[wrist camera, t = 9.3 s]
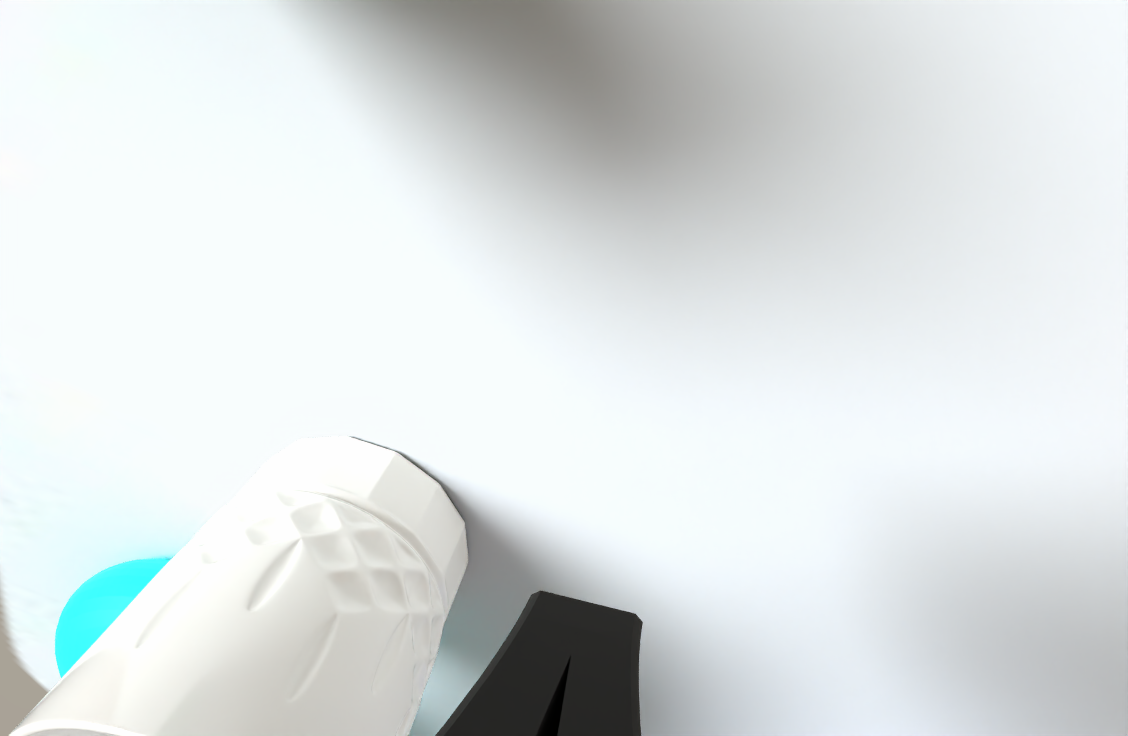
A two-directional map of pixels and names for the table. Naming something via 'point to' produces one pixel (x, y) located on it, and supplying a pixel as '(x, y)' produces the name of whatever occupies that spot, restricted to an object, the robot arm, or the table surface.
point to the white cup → (282, 610)
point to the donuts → (99, 607)
